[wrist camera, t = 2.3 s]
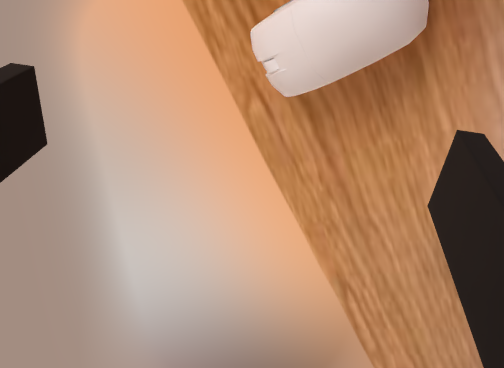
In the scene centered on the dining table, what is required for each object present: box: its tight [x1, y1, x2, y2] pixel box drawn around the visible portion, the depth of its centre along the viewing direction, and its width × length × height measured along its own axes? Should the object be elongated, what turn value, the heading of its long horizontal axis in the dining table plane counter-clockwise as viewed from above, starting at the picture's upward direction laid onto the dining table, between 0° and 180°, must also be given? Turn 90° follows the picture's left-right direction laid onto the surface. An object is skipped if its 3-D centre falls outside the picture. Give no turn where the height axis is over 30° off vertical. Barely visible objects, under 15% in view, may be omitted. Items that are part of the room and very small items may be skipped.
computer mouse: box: [250, 0, 429, 97], centre depth 31 cm, size 6×13×6 cm, turn 122°
